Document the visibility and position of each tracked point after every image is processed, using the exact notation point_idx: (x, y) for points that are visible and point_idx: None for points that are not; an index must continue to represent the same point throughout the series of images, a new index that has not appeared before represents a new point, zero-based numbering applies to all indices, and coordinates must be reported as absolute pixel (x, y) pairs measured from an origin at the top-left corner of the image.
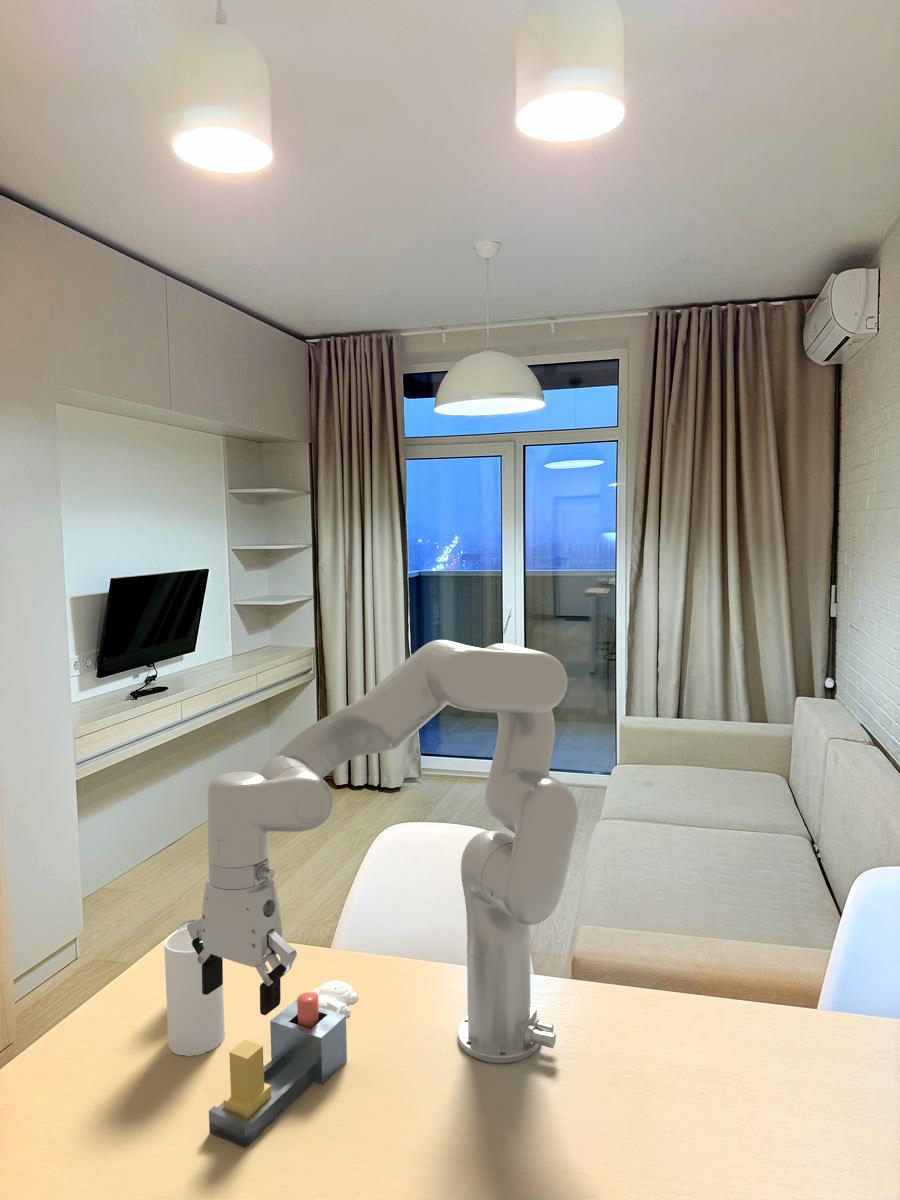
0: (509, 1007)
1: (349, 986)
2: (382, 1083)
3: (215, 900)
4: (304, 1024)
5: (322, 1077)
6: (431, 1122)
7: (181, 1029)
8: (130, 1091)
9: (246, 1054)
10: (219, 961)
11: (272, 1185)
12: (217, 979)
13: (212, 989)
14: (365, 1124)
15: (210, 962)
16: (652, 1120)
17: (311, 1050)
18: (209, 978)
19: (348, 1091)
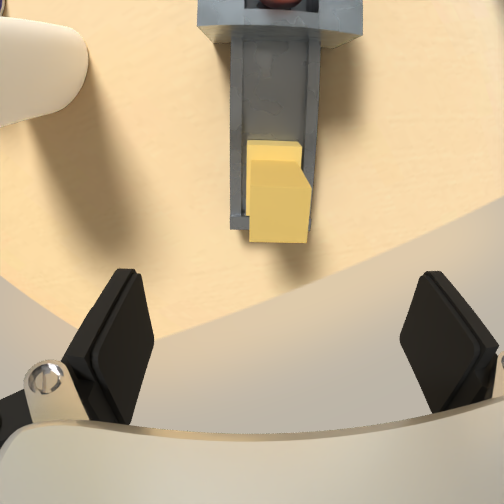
0: None
1: None
2: (417, 19)
3: None
4: (290, 2)
5: (337, 46)
6: (499, 85)
7: (33, 116)
8: (67, 205)
9: (293, 231)
10: (106, 365)
11: (373, 249)
12: (134, 318)
13: (148, 324)
14: (437, 109)
15: (109, 413)
16: None
17: (323, 36)
18: (139, 374)
19: (381, 48)
